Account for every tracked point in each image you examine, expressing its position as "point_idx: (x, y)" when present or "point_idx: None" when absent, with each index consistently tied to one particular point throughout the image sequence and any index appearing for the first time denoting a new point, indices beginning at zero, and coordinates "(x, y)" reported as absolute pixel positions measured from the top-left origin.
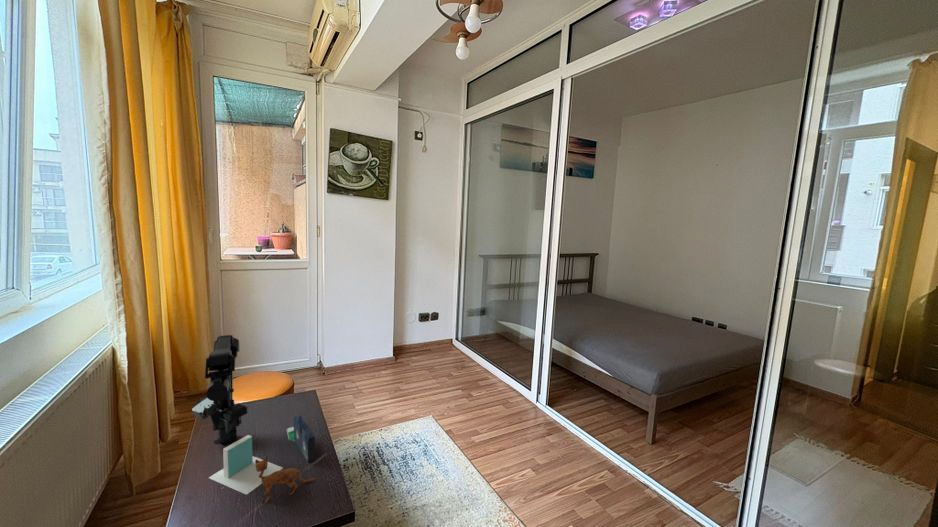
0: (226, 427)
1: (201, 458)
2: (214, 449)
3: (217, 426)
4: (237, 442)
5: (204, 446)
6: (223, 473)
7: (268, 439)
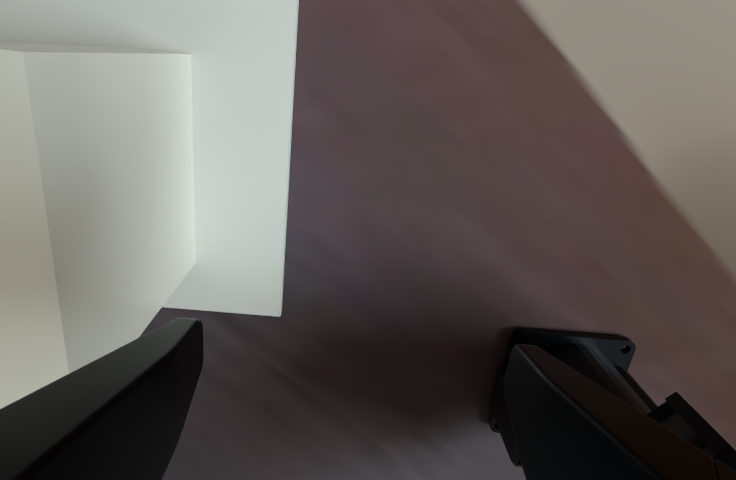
0: (82, 381)
1: (575, 180)
2: (565, 286)
3: (511, 392)
4: (10, 256)
5: (664, 288)
6: (230, 83)
7: (301, 466)
